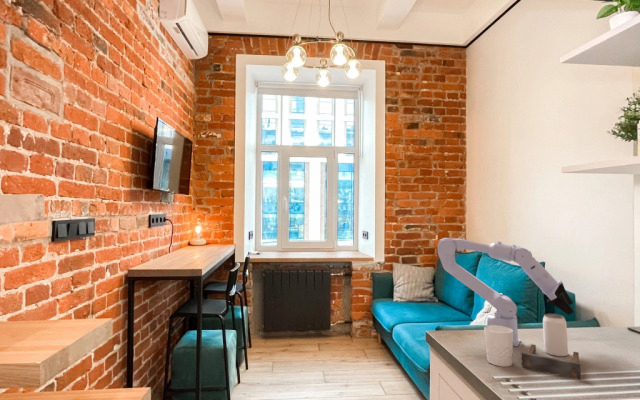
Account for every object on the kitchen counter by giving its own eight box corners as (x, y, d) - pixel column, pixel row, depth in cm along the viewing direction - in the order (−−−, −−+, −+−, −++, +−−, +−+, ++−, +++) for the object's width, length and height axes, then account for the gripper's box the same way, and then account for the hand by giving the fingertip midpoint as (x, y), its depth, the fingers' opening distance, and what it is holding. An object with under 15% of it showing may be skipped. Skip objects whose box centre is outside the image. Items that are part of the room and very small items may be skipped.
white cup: (513, 369, 103) (511, 334, 104) (483, 364, 107) (482, 330, 108) (515, 360, 110) (513, 327, 110) (487, 355, 114) (485, 323, 115)
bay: (521, 367, 105) (521, 353, 105) (528, 353, 116) (528, 340, 116) (580, 379, 96) (579, 364, 96) (582, 363, 107) (581, 349, 108)
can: (572, 357, 112) (570, 318, 113) (549, 356, 113) (547, 317, 114) (562, 350, 118) (560, 313, 119) (540, 349, 119) (539, 312, 120)
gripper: (550, 277, 117) (583, 311, 113) (550, 263, 129) (580, 294, 125) (531, 288, 120) (562, 322, 117) (533, 274, 132) (562, 304, 129)
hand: (570, 308), depth 121 cm, fingers open, 7 cm apart
